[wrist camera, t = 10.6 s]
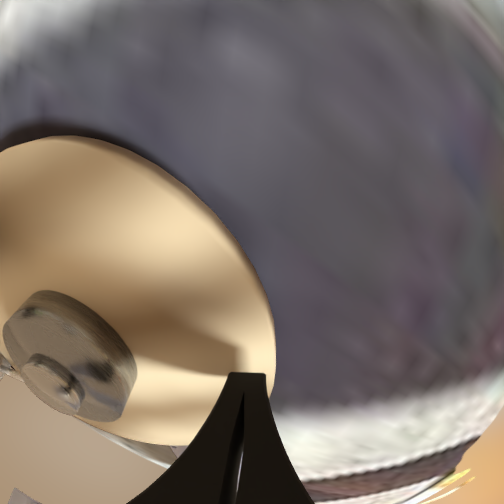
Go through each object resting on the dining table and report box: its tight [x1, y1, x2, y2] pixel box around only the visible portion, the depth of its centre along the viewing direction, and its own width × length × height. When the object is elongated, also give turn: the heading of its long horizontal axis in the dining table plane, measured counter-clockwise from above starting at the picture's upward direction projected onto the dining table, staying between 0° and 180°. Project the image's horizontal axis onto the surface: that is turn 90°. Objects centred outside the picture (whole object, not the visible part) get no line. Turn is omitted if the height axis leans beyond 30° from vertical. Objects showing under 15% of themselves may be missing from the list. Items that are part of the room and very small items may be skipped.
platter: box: [0, 135, 276, 446], centre depth 11 cm, size 20×20×6 cm
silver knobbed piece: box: [0, 352, 25, 383], centre depth 15 cm, size 3×7×6 cm, turn 92°
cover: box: [2, 290, 138, 422], centre depth 11 cm, size 7×7×3 cm
